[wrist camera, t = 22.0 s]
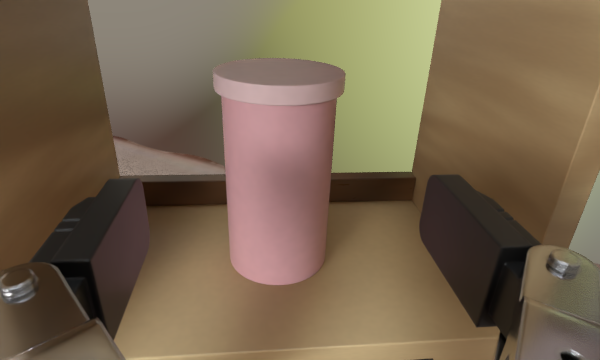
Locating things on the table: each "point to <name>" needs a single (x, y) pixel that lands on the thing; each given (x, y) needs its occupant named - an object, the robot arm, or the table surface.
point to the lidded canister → (278, 163)
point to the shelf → (343, 188)
